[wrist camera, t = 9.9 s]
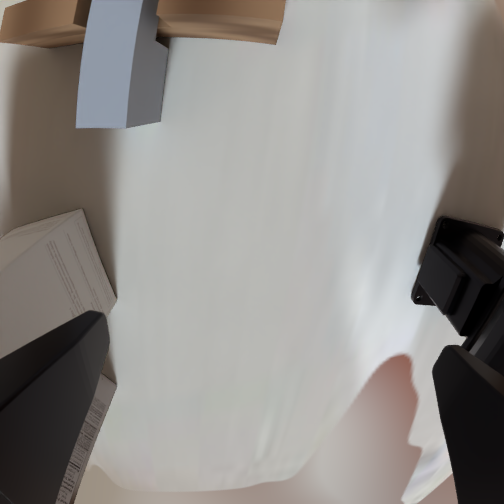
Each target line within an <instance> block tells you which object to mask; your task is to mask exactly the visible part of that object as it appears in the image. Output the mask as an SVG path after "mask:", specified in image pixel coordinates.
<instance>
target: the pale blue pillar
mask: <svg viewBox="0 0 504 504" xmlns="http://www.w3.org/2000/svg"><path fill="white" fill-rule="evenodd" d="M158 2H159V0H92V2H91V7H90V12H89V17H88V22H87V28H86V33H85V39H84V46H83V53H82V60H81V68H80V77H79V87H78V98H77V113H76V128H130V127H135V126H140V125H145V124H151V123H156V122H160V118H161V108H162V98H163V89H164V81H165V73H166V65H167V58H168V51H169V49H168V48H166V47H165V46H163V45H161V44H160V43H158V42H156V41H155V39H156V33H157V27H158V21H159V16H158V15H156V12H157V7H158Z"/></svg>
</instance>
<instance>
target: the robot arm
mask: <svg viewBox="0 0 504 504" xmlns="http://www.w3.org/2000/svg"><path fill="white" fill-rule="evenodd" d="M445 221H446V224H445V226H443V223H444V222H445ZM498 235H499V236H498ZM497 237H498V238H497ZM503 239H504V233H503V232H502V231H500V230H499V229H496V228H492V227H488V226H484V225H481V224H477V223H473V222H469V221H465V220H461V219H457V218H453V217H449V216H441V217H440V218H439V219H438V221H437V224H436V227H435V230H434V233H433V237H432V240H431V243H430V246H429V247H428V250H427V253H426V255H425V258H424V261H423V264H422V267H421V270H420V272H419V275H418V278H417V282H416V285H415V287H414V290H413V292H412V295H411V299H412V301H413V302H414V303H415V304H418V305H431V306H437V308H438V309H439V310H440V312H441V313H442V314H443V315H445V316H446V317H447V318H448V320H449V321H450V323H451V324H452V325H453V327H454V328H455V330H456V331H457V332H458V334H459V335H460V336H465V337H466V340H465V341H464V343H463V344H462V346H459V345H447V346H445V347H444V349H443V350H442V352H441V354H440V356H439V357H438V359H437V361H436V363H435V364H434V366H433V370H432V375H433V380H434V386H435V391H436V396H437V402H438V408H439V414H440V419H441V423H442V427H443V431H444V435H445V439H446V444H447V448H448V452H449V457H450V462H451V466H452V471H453V476H454V482H455V487H456V493H457V499H458V504H504V250H503V249H502V248H501V245H502V242H503ZM418 296H420V297H419V298H417V297H418ZM109 343H110V337H109V331H108V325H107V319H106V315H105V314H104V313H103V312H99V311H94V310H88V311H86V312H84V313H82V314H80V315H79V316H77V317H75V318H73V319H71V320H69V321H68V322H66V323H64V324H62V325H60V326H58V327H56V328H55V329H53V330H51V331H49V332H47V333H45V334H44V335H42V336H40V337H38V338H36V339H35V340H33V341H31V342H29V343H27V344H26V345H24V346H22V347H20V348H18V349H17V350H15V351H13V352H11V353H9V354H8V355H6V356H4V357H2V358H1V359H0V504H55V503H56V500H57V497H58V494H59V491H60V488H61V485H62V482H63V479H64V476H65V473H66V470H67V467H68V464H69V461H70V458H71V456H72V453H73V450H74V447H75V445H76V442H77V439H78V437H79V434H80V431H81V429H82V426H83V424H84V421H85V418H86V416H87V413H88V411H89V408H90V406H91V403H92V401H93V398H94V395H95V392H96V389H97V385H98V382H99V378H100V375H101V371H102V368H103V364H104V361H105V358H106V355H107V351H108V348H109Z"/></svg>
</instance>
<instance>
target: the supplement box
mask: <svg viewBox="0 0 504 504" xmlns="http://www.w3.org/2000/svg"><path fill="white" fill-rule="evenodd" d="M116 302H117V299H116V297H115V295H114V292H113V290H112V288H111V285H110V283H109V280H108V278H107V275H106V273H105V270H104V268H103V265H102V263H101V260H100V258H99V255H98V252H97V250H96V247H95V244H94V241H93V238H92V236H91V233H90V230H89V227H88V224H87V221H86V218H85V215H84V212H83V210H82V209H79V210H75V211H71V212H68V213H64V214H61V215H58V216H54V217H50V218H47V219H44V220H41V221H37V222H34V223H31V224H27V225H24V226H21V227H18V228H15V229H13V230H12V231H10V232H9V233H7V234H6V235H5V236H3V237H2V238H0V359H1V358H2V357H4V356H6V355H8V354H9V353H11V352H13V351H15V350H17V349H18V348H20V347H22V346H24V345H26V344H27V343H29V342H31V341H33V340H35V339H36V338H38V337H40V336H42V335H44V334H45V333H47V332H49V331H51V330H53V329H55V328H56V327H58V326H60V325H62V324H64V323H66V322H68V321H69V320H71V319H73V318H75V317H77V316H79V315H80V314H82V313H84V312H86V311H88V310H94V311H99V312H103V313H104V314H105V315H106V318H107V317H108V315H109V313H110V312H111V310H112V308H113V307H114V305H115V303H116Z"/></svg>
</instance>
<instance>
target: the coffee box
mask: <svg viewBox="0 0 504 504" xmlns="http://www.w3.org/2000/svg"><path fill="white" fill-rule="evenodd" d="M116 388H117V386H116V384H114V383H113V382H112V381H110V380H109V379H108V378H107V377H105V376H104V375H103V374H102V373H101V375H100V378H99V382H98V385H97V389H96V392H95V395H94V398H93V401H92V403H91V406H90V408H89V411H88V413H87V416H86V418H85V421H84V424H83V426H82V429H81V431H80V434H79V437H78V439H77V442H76V445H75V447H74V450H73V453H72V456H71V458H70V461H69V464H68V467H67V470H66V473H65V476H64V479H63V482H62V485H61V488H60V491H59V494H58V497H57V500H56V503H55V504H74V501H75V498H76V495H77V492H78V489H79V486H80V483H81V480H82V477H83V474H84V471H85V469H86V466H87V463H88V460H89V457H90V455H91V452H92V449H93V447H94V444H95V441H96V439H97V436H98V433H99V431H100V428H101V426H102V423H103V421H104V418H105V416H106V413H107V411H108V408H109V406H110V403H111V401H112V398H113V396H114V393H115V391H116Z"/></svg>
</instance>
